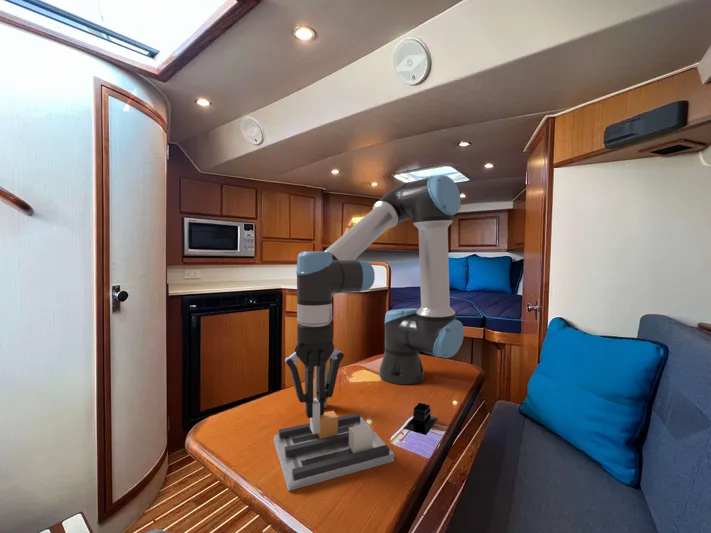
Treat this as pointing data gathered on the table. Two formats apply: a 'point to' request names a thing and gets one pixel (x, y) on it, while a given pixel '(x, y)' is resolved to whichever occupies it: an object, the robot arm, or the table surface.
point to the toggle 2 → (360, 438)
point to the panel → (323, 456)
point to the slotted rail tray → (326, 442)
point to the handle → (325, 381)
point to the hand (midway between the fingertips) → (314, 430)
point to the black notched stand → (421, 420)
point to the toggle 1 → (328, 424)
